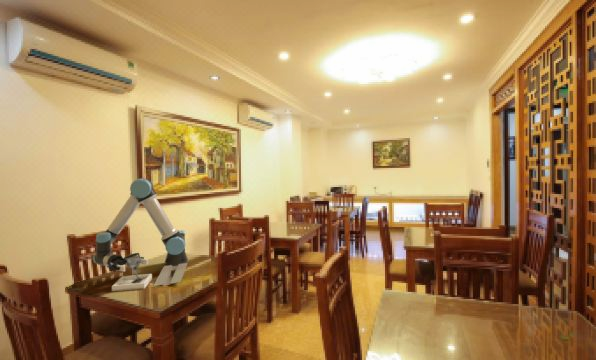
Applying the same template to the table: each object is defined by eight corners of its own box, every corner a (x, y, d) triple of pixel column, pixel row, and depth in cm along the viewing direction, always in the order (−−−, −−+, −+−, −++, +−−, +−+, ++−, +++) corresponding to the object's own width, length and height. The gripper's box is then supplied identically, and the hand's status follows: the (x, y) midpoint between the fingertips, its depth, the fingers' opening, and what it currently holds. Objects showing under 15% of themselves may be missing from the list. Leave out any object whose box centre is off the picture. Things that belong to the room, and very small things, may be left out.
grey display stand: (187, 289, 171) (192, 266, 182) (180, 282, 165) (186, 258, 176) (160, 293, 172) (167, 270, 183) (152, 286, 166) (160, 262, 177)
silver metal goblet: (135, 278, 175) (128, 254, 174) (148, 275, 175) (141, 251, 174) (127, 284, 168) (120, 259, 166) (141, 281, 167) (134, 256, 166)
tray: (152, 278, 178) (151, 273, 178) (144, 288, 162) (144, 283, 162) (122, 281, 174) (122, 276, 174) (111, 291, 159) (111, 286, 158)
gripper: (133, 261, 187) (156, 265, 178) (91, 273, 165) (114, 279, 155) (133, 249, 187) (155, 253, 177) (90, 260, 165) (113, 265, 155)
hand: (136, 265), depth 166 cm, fingers open, 13 cm apart
